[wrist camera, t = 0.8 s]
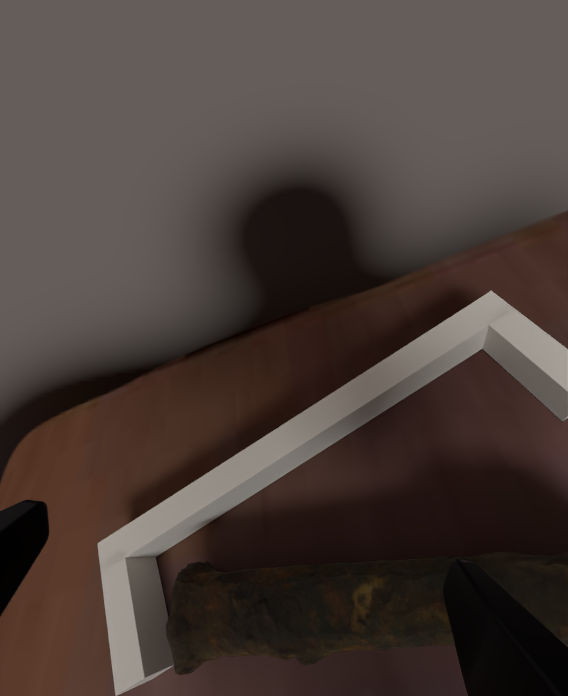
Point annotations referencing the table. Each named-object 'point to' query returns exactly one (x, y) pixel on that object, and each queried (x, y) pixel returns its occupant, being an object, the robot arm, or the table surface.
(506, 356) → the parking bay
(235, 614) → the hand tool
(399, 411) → the table surface
